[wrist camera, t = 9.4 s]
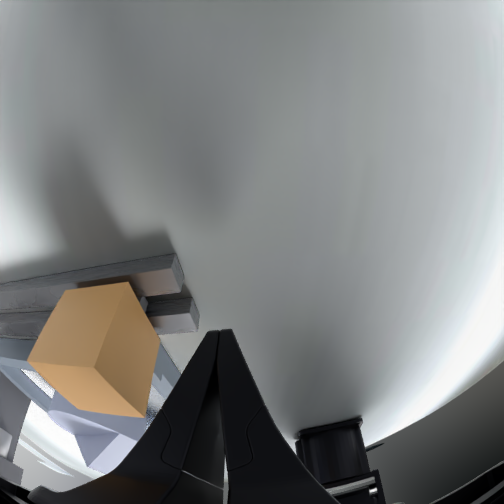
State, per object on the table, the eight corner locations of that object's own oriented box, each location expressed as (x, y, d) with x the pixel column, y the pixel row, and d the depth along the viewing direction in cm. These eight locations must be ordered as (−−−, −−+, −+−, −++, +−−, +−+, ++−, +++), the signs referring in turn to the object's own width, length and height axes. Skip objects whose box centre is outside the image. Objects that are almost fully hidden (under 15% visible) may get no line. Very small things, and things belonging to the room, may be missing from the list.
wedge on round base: (197, 432, 22) (82, 369, 16) (195, 493, 17) (58, 446, 10) (143, 439, 25) (46, 385, 19) (137, 488, 19) (28, 441, 13)
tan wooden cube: (135, 266, 11) (93, 367, 6) (164, 324, 13) (145, 417, 8) (74, 276, 11) (26, 360, 7) (106, 328, 13) (78, 409, 9)
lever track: (175, 253, 11) (170, 268, 10) (199, 315, 13) (197, 331, 12) (-24, 289, 12) (-31, 297, 11) (1, 325, 14) (-5, 334, 13)
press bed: (158, 339, 14) (128, 563, 4) (215, 422, 20) (215, 548, 10) (-37, 333, 15) (-75, 417, 5) (25, 398, 22) (3, 473, 12)
